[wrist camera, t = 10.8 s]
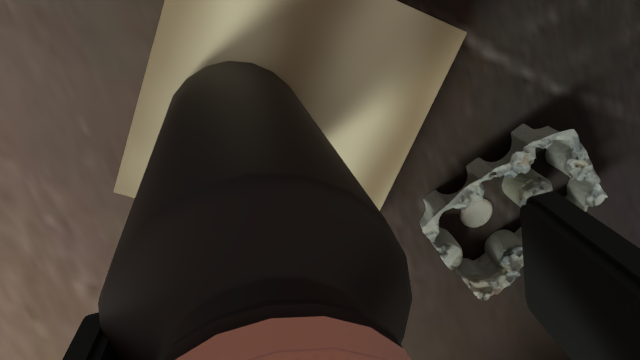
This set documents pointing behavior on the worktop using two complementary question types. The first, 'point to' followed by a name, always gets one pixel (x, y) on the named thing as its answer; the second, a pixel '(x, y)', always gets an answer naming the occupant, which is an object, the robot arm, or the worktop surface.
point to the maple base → (307, 72)
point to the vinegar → (252, 238)
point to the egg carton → (518, 185)
